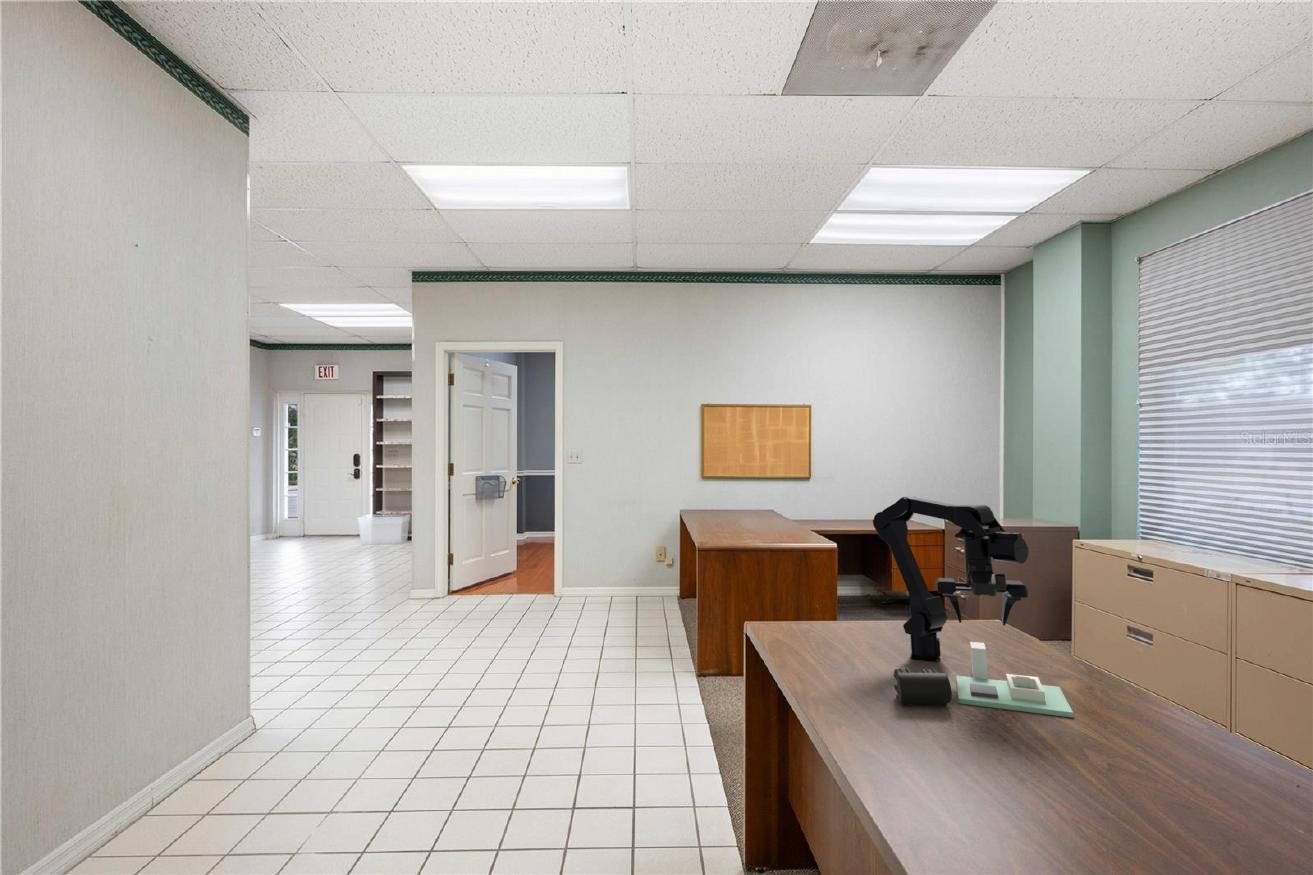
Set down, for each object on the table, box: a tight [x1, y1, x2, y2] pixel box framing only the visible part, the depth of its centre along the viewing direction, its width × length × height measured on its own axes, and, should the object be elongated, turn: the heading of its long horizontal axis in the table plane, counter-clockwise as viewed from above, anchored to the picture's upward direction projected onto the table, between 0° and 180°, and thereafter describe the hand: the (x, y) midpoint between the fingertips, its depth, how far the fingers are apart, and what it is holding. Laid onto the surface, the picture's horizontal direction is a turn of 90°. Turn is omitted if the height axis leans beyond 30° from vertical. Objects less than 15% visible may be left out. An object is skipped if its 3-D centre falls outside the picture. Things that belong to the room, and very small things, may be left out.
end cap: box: [893, 668, 953, 707], centre depth 123 cm, size 10×7×7 cm
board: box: [956, 673, 1074, 718], centre depth 124 cm, size 20×14×3 cm
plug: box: [969, 641, 989, 679], centre depth 138 cm, size 3×6×7 cm, turn 154°
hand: (981, 623), depth 138 cm, fingers open, 9 cm apart
